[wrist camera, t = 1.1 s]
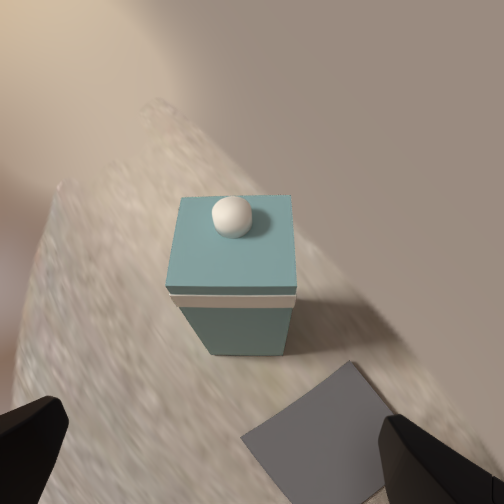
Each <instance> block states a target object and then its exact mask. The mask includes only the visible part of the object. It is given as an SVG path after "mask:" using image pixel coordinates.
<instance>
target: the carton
mask: <svg viewBox="0 0 504 504" xmlns="http://www.w3.org/2000/svg"><path fill="white" fill-rule="evenodd" d="M165 286H166V288H167V289H168V291H169V292H170V295H169V296H170V297H171V299H172V300H173V302H174V303H175V305H176V306H177V307H179V308H180V310H181V311H182V313H183V314H184V316H185V317H186V319H187V320H188V322H189V323H190V325H191V326H192V328H193V329H194V331H195V332H196V334H197V335H198V337H199V338H200V340H201V341H202V343H203V344H204V346H205V347H206V349H207V350H208V351H209V353H210V354H211V355H245V356H279V355H283V352H284V347H285V342H286V338H287V333H288V328H289V323H290V319H291V314H292V309H293V308H294V306H295V301H296V288H297V279H296V261H295V246H294V231H293V218H292V205H291V195H255V196H211V197H185V198H181V202H180V207H179V212H178V217H177V222H176V227H175V232H174V238H173V243H172V249H171V254H170V260H169V266H168V272H167V278H166V284H165Z"/></svg>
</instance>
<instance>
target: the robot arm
mask: <svg viewBox="0 0 504 504" xmlns="http://www.w3.org/2000/svg"><path fill="white" fill-rule="evenodd" d="M68 425H69V419H68V416H67V414H66V412H65V409H64V407H63V405H62V402H61V400H60V399H59V398H56V397H53V396H45V397H42V398H40V399H38V400H36V401H33V402H31V403H29V404H26V405H24V406H21V407H19V408H17V409H14V410H12V411H10V412H7V413H5V414H2V415H0V504H38V502H39V499H40V497H41V495H42V492H43V490H44V488H45V486H46V483H47V481H48V479H49V476H50V474H51V472H52V470H53V468H54V465H55V463H56V460H57V457H58V454H59V451H60V448H61V445H62V442H63V439H64V437H65V434H66V431H67V428H68ZM378 447H379V452H380V458H381V464H382V470H383V476H384V482H385V488H386V492H387V496H388V499H389V503H390V504H504V482H503V481H502V480H500V479H498V478H497V477H495V476H493V477H492V474H490V473H488V472H487V471H485V470H484V469H482V468H481V467H479V466H477V465H476V464H474V463H473V462H471V461H470V460H468V459H467V458H465V457H463V456H462V455H460V454H459V453H457V452H456V451H454V450H453V449H451V448H450V447H448V446H447V445H445V444H444V443H442V442H441V441H439V440H438V439H436V438H435V437H433V436H432V435H430V434H429V433H428V432H426V431H425V430H423V429H422V428H420V427H419V426H417V425H416V424H414V423H413V422H412V421H410V420H409V419H407V418H406V417H404V416H403V415H401V414H395V415H389V416H386V417H385V418H384V421H383V424H382V427H381V430H380V433H379V437H378Z"/></svg>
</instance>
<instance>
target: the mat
mask: <svg viewBox="0 0 504 504" xmlns="http://www.w3.org/2000/svg"><path fill="white" fill-rule="evenodd" d="M389 415H394V414H393V413H392V412H391V410H390V409H389V408H388V407H387V405H386V404H385V403H384V402H383V401H382V399H381V398H380V397H379V396H378V394H377V393H376V392H375V391H374V389H373V388H372V387H371V386H370V385H369V383H368V382H367V381H366V380H365V378H364V377H363V376H362V375H361V374H360V372H359V371H358V370H357V369H356V367H355V366H354V365H353V364H352V362H351V361H350V360H349V361H348V362H347V363H346V364H344V365H343V366H342V367H341V368H339V369H338V370H337V371H336V372H334V373H333V374H332V375H330V376H329V377H328V378H327V379H325V380H324V381H323V382H321V383H320V384H319V385H317V386H316V387H315V388H313V389H312V390H311V391H309V392H308V393H306V394H305V395H304V396H302V397H301V398H299V399H298V400H297V401H295V402H294V403H292V404H291V405H289V406H288V407H287V408H285V409H284V410H282V411H281V412H279V413H278V414H276V415H275V416H273V417H272V418H270V419H269V420H267V421H265V422H264V423H262V424H261V425H259V426H258V427H256V428H254V429H253V430H251V431H250V432H248V433H246V434H245V435H243V436H241V437H240V438H241V439H242V441H243V442H244V443H245V445H246V446H247V448H248V449H249V450H250V452H251V453H252V454H253V456H254V457H255V458H256V460H257V461H258V462H259V463H260V465H261V466H262V467H263V469H264V470H265V471H266V472H267V474H268V475H269V476H270V477H271V479H272V480H273V481H274V482H275V484H276V485H277V486H278V487H279V489H280V490H281V491H282V492H283V493H284V495H285V496H286V497H287V498H288V499H289V501H290V502H291V503H292V504H361V503H363V502H364V501H365V500H366V499H368V498H369V497H370V496H372V495H373V494H374V493H375V492H376V491H378V490H379V489H380V488H381V487H383V486H384V485H385V482H384V476H383V470H382V464H381V458H380V452H379V447H378V437H379V433H380V430H381V427H382V424H383V421H384V418H385V417H386V416H389Z"/></svg>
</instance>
